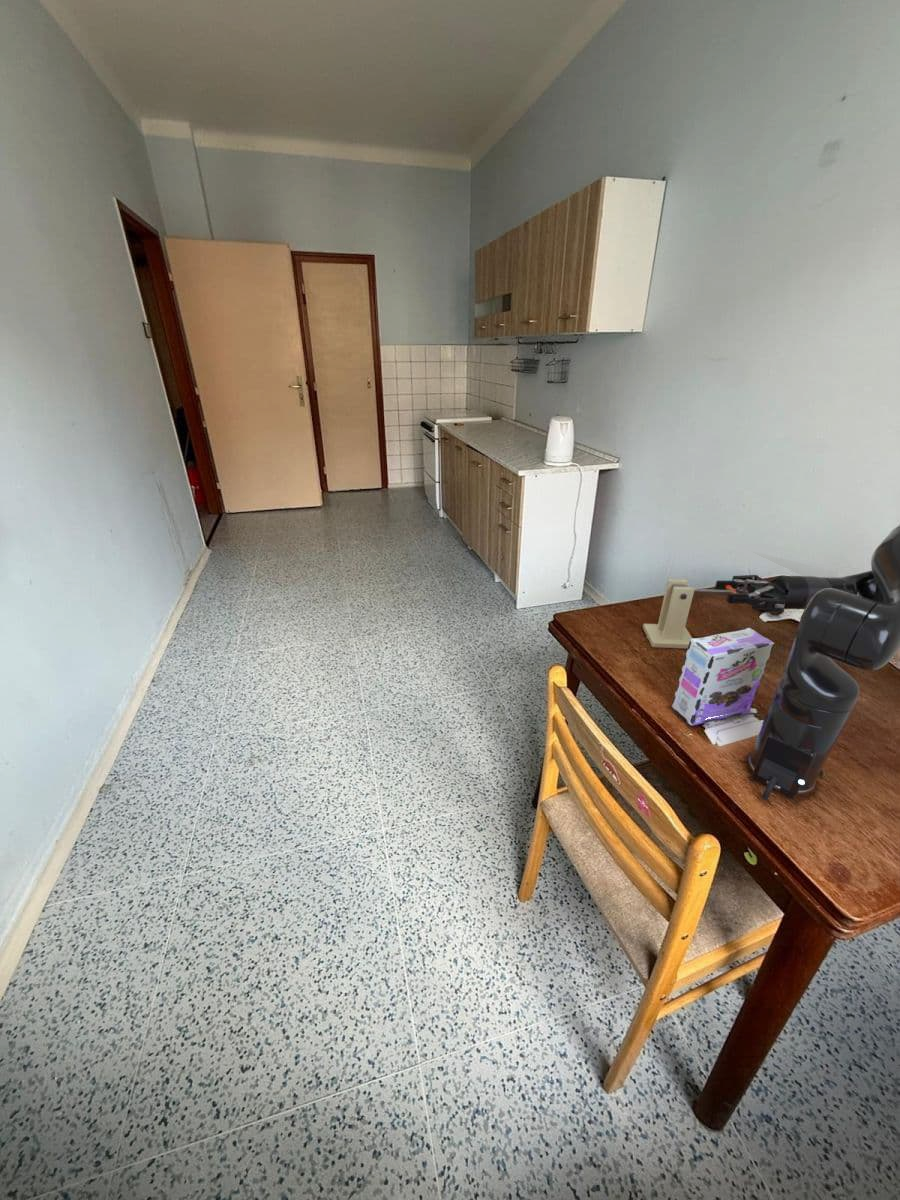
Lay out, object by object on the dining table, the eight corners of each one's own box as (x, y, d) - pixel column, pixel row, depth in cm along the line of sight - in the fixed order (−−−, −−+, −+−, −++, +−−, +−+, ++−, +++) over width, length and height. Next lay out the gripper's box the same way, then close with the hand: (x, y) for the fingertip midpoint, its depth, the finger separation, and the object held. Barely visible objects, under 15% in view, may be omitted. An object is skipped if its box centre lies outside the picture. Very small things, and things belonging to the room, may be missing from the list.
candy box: (690, 727, 89) (712, 655, 81) (670, 707, 94) (688, 637, 86) (750, 713, 92) (777, 642, 84) (727, 694, 97) (750, 625, 89)
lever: (729, 591, 112) (732, 582, 110) (740, 603, 106) (743, 594, 105) (668, 589, 113) (670, 580, 112) (676, 601, 108) (678, 591, 106)
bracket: (683, 629, 119) (696, 576, 112) (695, 649, 111) (711, 593, 104) (642, 627, 120) (653, 575, 113) (652, 647, 112) (664, 592, 105)
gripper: (788, 564, 111) (713, 564, 113) (824, 592, 99) (739, 591, 100) (778, 592, 115) (706, 592, 117) (812, 622, 102) (730, 621, 104)
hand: (722, 591), depth 109 cm, fingers closed on lever, 6 cm apart
